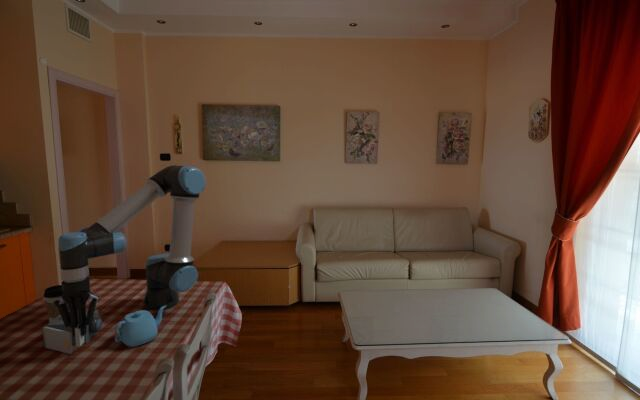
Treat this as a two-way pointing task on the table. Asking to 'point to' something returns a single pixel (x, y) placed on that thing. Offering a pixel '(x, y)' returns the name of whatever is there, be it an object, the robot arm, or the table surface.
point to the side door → (57, 340)
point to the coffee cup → (51, 296)
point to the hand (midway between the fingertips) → (80, 344)
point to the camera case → (91, 328)
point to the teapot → (138, 327)
